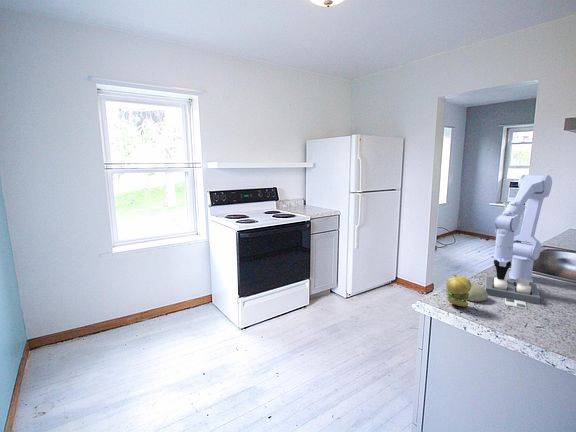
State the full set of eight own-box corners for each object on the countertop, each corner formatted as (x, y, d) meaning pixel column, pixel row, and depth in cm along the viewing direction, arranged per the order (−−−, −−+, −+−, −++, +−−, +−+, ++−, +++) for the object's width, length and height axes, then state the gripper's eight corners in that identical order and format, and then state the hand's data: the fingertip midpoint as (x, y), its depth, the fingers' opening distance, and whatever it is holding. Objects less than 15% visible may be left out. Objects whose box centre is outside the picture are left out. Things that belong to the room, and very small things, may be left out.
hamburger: (473, 307, 107) (476, 274, 105) (462, 313, 103) (465, 278, 101) (451, 299, 114) (454, 268, 112) (440, 304, 110) (442, 272, 108)
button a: (493, 283, 127) (494, 276, 127) (506, 285, 125) (506, 278, 125) (493, 286, 124) (494, 279, 123) (506, 289, 122) (507, 281, 121)
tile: (504, 298, 114) (504, 297, 114) (525, 302, 111) (525, 301, 111) (505, 305, 109) (505, 303, 109) (526, 309, 106) (526, 308, 106)
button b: (493, 286, 121) (494, 278, 121) (506, 288, 119) (507, 281, 119) (493, 289, 118) (494, 282, 118) (507, 292, 116) (507, 284, 115)
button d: (515, 290, 118) (516, 282, 117) (529, 292, 115) (530, 284, 115) (516, 293, 114) (517, 286, 114) (530, 296, 112) (531, 288, 111)
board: (486, 281, 130) (487, 276, 130) (535, 289, 122) (535, 284, 121) (485, 294, 118) (486, 288, 118) (539, 304, 109) (540, 297, 109)
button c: (514, 284, 123) (515, 276, 123) (528, 286, 121) (529, 278, 121) (515, 287, 120) (516, 280, 119) (529, 289, 118) (530, 282, 117)
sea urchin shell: (495, 299, 109) (478, 283, 110) (476, 312, 112) (460, 296, 112) (484, 289, 118) (469, 274, 118) (466, 301, 120) (452, 287, 121)
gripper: (492, 240, 130) (489, 271, 132) (491, 248, 118) (488, 282, 120) (512, 242, 126) (509, 274, 128) (514, 251, 114) (510, 286, 116)
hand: (500, 279), depth 124 cm, fingers closed
